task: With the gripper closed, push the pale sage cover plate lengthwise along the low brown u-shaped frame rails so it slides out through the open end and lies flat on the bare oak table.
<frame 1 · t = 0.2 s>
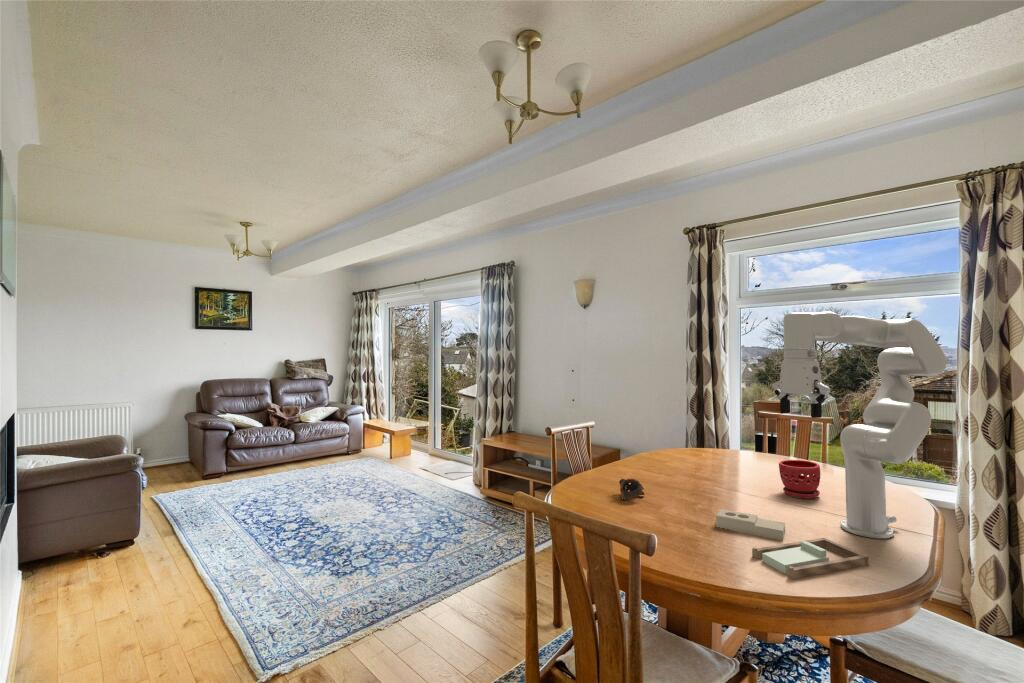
hand: (800, 415, 132), 36 cm above the table, tool pointing down, fingers open, 9 cm apart
plant pot: (799, 495, 171), on the table
cover plate: (795, 564, 118), on the table
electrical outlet: (750, 531, 140), on the table
brown u-shaped frame: (809, 560, 119), on the table
dark turtle figurine: (630, 498, 172), on the table
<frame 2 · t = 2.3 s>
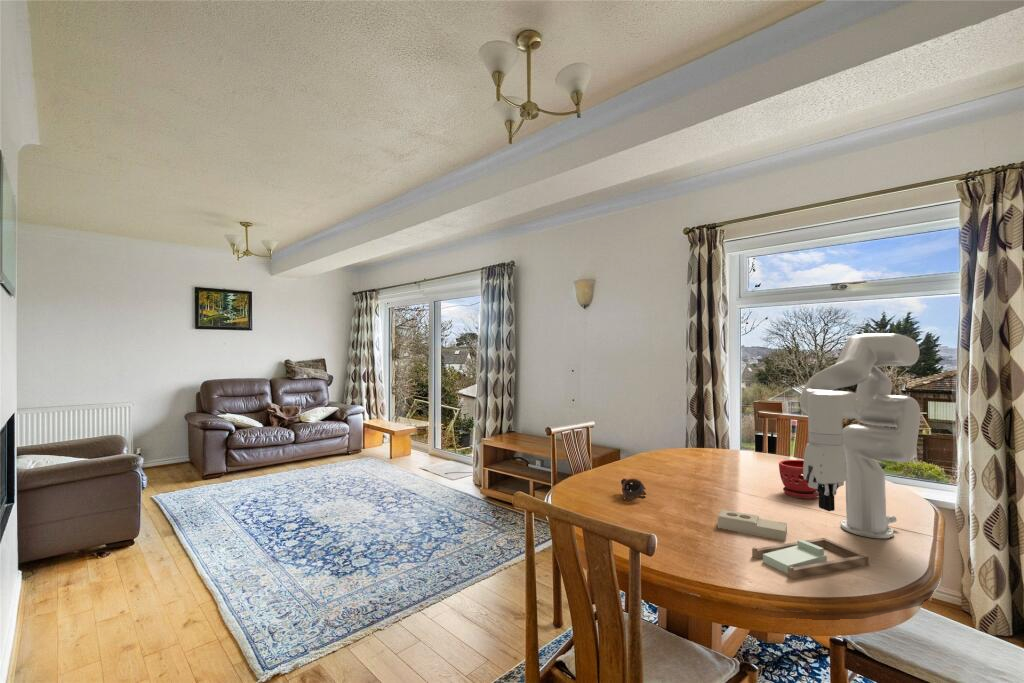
hand: (826, 509, 121), 13 cm above the table, tool pointing down, fingers closed
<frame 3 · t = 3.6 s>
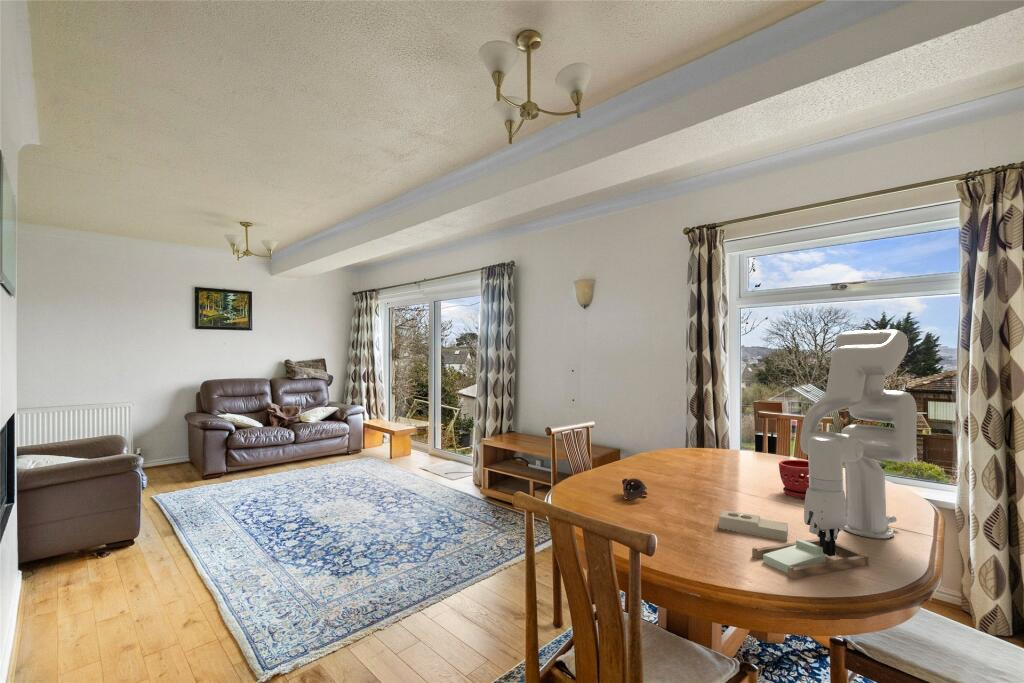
hand: (827, 553, 121), 1 cm above the table, tool pointing down, fingers closed
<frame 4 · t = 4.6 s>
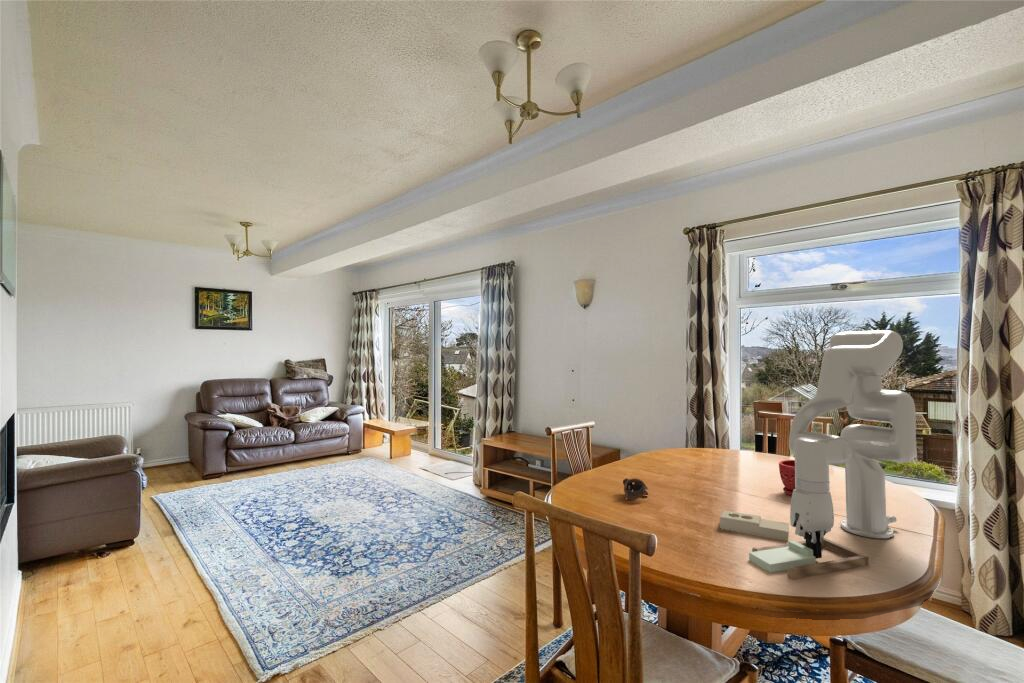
hand: (813, 556, 120), 1 cm above the table, tool pointing down, fingers closed
cover plate: (782, 564, 119), on the table
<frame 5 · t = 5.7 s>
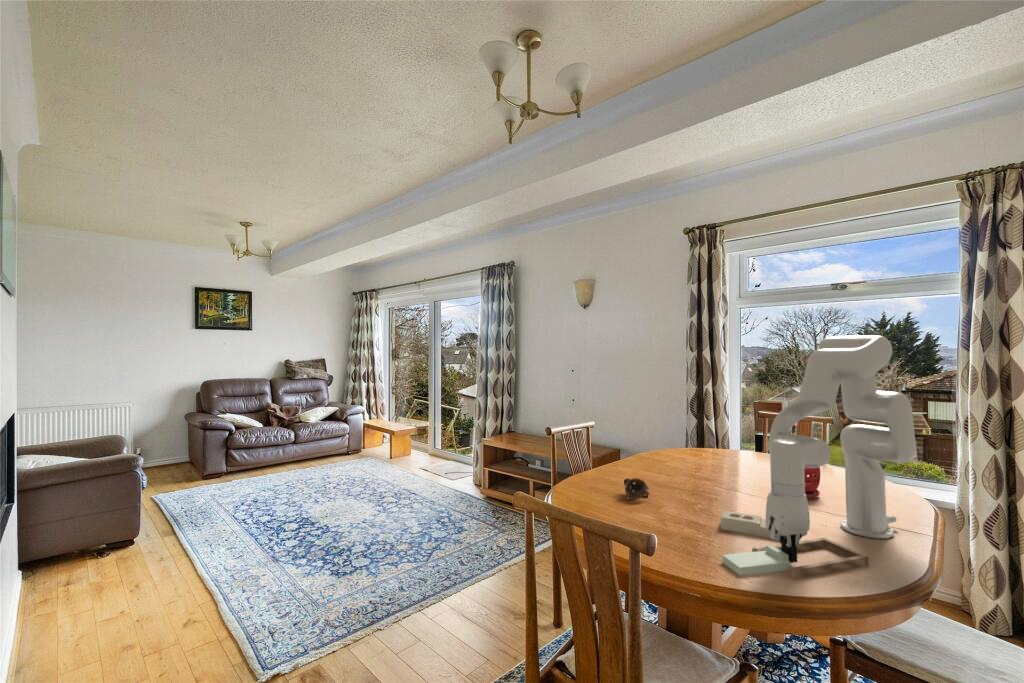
hand: (789, 560, 118), 1 cm above the table, tool pointing down, fingers closed
cover plate: (756, 568, 117), on the table
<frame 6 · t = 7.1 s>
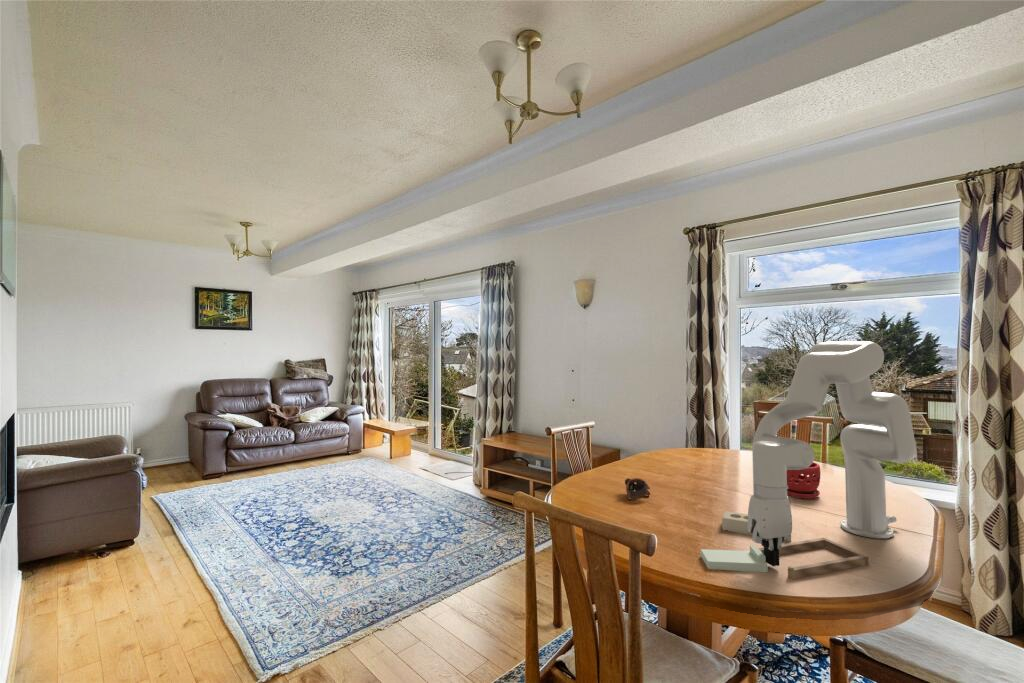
hand: (771, 563, 116), 1 cm above the table, tool pointing down, fingers closed
cover plate: (733, 566, 118), on the table
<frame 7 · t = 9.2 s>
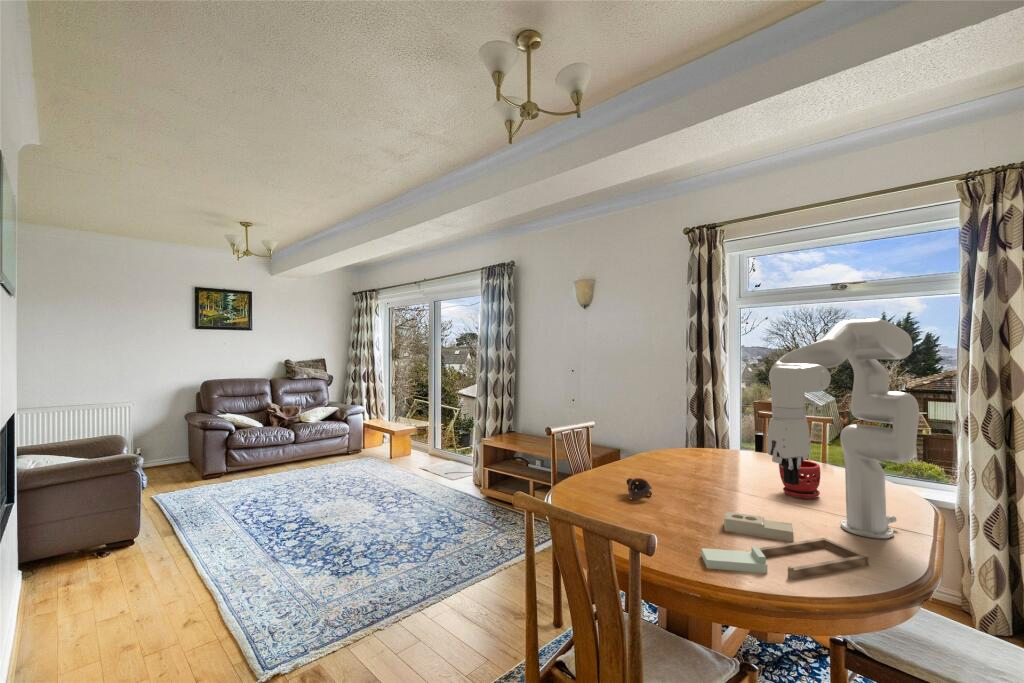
hand: (791, 483, 120), 20 cm above the table, tool pointing down, fingers closed
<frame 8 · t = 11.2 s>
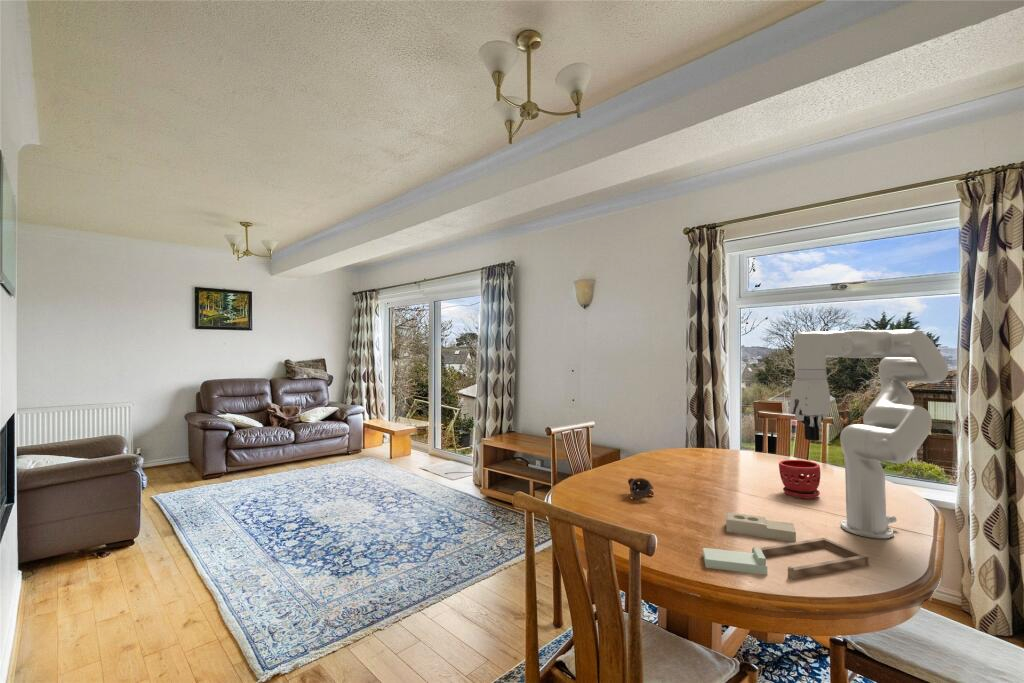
hand: (812, 439, 131), 29 cm above the table, tool pointing down, fingers closed
at the end: cover plate inside the target area (5.5 cm from its centre), on the table; cover plate tilted 0° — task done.
